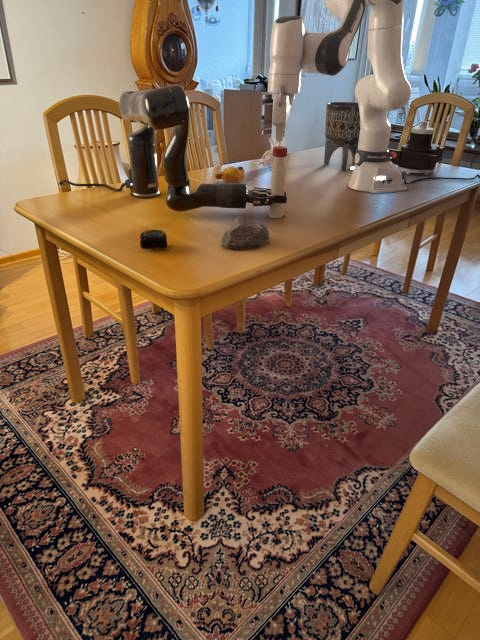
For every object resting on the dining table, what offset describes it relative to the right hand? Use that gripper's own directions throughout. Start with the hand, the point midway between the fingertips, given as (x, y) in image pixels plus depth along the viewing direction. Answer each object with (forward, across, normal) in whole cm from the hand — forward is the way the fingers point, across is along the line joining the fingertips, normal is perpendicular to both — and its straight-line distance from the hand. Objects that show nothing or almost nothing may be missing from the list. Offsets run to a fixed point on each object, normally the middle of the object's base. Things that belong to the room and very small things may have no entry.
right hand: (280, 139), depth 132 cm
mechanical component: (+22, +83, -58) cm, 104 cm away
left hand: (+17, 0, -3) cm, 17 cm away
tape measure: (+23, -34, +28) cm, 50 cm away
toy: (+23, +42, +21) cm, 52 cm away
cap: (+2, 0, 0) cm, 3 cm away
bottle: (+23, 0, 0) cm, 23 cm away
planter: (+22, +82, -24) cm, 88 cm away
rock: (+23, -26, +5) cm, 35 cm away
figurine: (+23, +72, +9) cm, 76 cm away
